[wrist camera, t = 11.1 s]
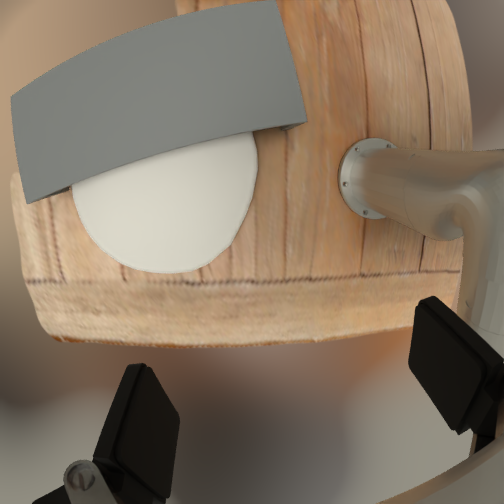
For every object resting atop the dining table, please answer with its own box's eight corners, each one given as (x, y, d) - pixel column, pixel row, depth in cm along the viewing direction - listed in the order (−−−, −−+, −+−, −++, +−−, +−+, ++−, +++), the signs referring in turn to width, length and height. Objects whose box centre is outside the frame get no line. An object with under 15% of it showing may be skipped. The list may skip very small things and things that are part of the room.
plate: (62, 94, 28) (250, 55, 29) (82, 103, 35) (248, 73, 36) (79, 287, 35) (268, 272, 36) (97, 274, 41) (263, 259, 42)
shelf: (265, 31, 32) (275, -1, 22) (289, 129, 37) (307, 121, 28) (47, 102, 32) (10, 96, 22) (63, 192, 37) (26, 204, 28)
